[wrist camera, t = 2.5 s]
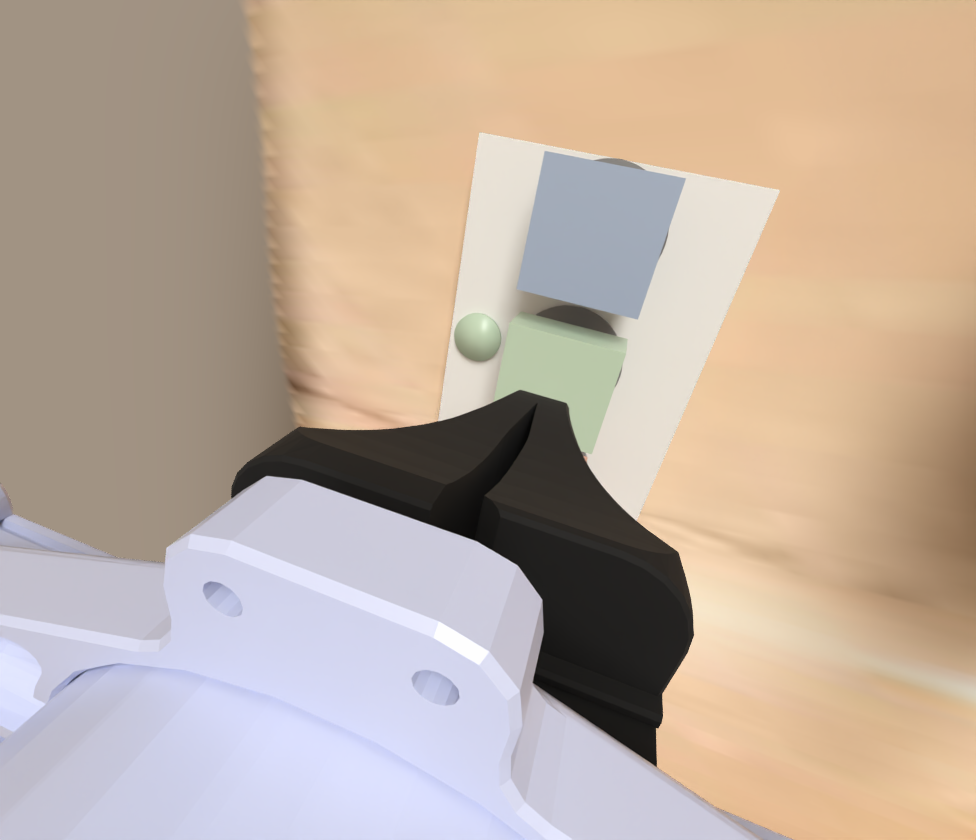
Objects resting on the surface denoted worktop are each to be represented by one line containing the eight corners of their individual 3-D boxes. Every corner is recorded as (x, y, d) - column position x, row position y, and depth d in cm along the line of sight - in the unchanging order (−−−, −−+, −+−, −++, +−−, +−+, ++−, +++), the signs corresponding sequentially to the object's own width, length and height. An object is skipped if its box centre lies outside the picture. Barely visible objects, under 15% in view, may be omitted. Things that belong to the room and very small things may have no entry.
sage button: (595, 433, 16) (591, 454, 15) (500, 405, 17) (488, 422, 16) (627, 338, 15) (626, 353, 13) (520, 311, 15) (509, 322, 14)
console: (632, 505, 21) (631, 536, 19) (447, 446, 23) (429, 469, 21) (764, 190, 15) (782, 190, 13) (496, 138, 16) (477, 131, 14)
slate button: (638, 307, 14) (637, 319, 13) (527, 280, 15) (516, 289, 13) (681, 179, 12) (686, 178, 11) (554, 154, 13) (544, 151, 12)
